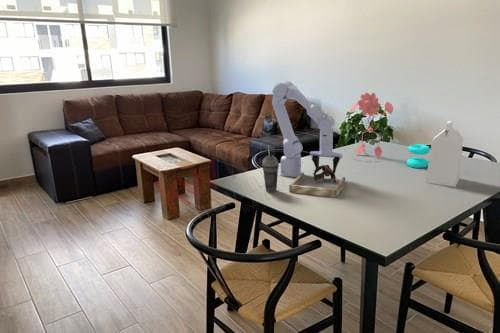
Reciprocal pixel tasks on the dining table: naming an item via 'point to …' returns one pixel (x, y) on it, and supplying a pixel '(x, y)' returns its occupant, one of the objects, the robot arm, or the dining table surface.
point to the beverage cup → (270, 172)
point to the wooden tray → (315, 188)
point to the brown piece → (324, 173)
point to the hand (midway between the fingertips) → (325, 172)
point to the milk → (445, 157)
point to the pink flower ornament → (370, 106)
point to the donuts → (418, 161)
